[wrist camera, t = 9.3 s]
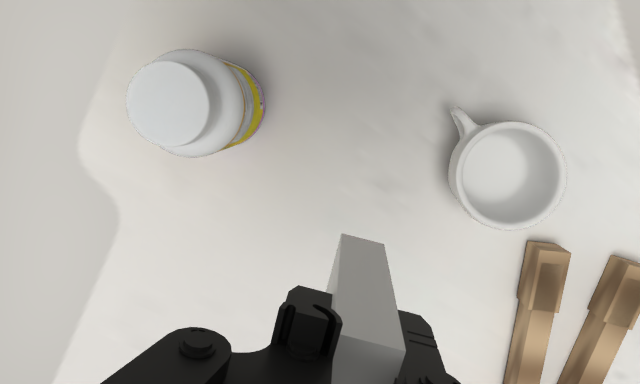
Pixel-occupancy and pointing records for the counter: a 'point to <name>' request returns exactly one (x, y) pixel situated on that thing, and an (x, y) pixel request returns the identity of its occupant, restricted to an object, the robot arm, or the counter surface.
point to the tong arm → (536, 310)
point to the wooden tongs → (605, 323)
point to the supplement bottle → (194, 103)
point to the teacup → (506, 172)
